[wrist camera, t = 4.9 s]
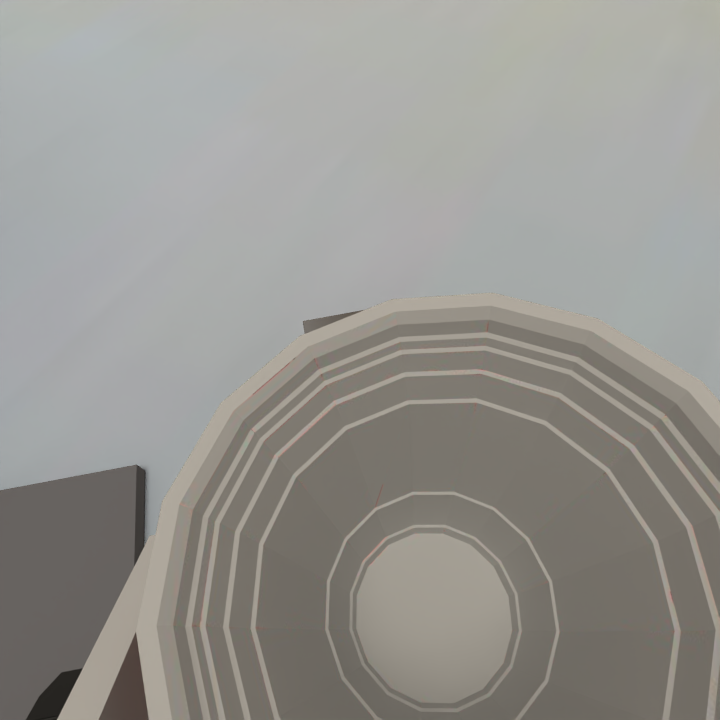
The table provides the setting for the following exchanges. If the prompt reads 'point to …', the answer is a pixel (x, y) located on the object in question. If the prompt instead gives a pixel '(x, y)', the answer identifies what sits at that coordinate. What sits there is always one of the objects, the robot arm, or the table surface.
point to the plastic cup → (444, 529)
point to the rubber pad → (62, 574)
